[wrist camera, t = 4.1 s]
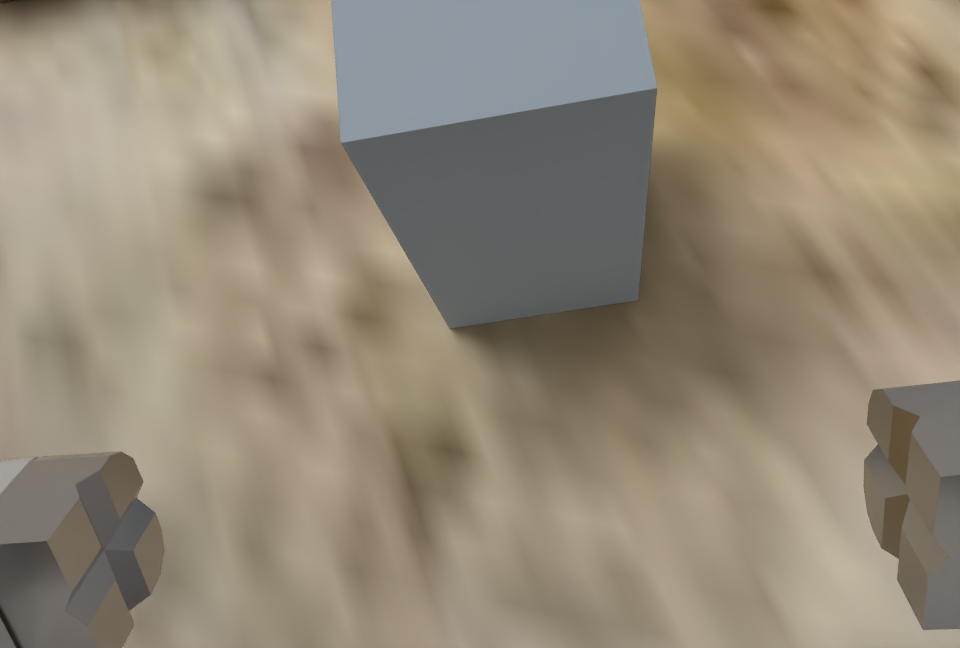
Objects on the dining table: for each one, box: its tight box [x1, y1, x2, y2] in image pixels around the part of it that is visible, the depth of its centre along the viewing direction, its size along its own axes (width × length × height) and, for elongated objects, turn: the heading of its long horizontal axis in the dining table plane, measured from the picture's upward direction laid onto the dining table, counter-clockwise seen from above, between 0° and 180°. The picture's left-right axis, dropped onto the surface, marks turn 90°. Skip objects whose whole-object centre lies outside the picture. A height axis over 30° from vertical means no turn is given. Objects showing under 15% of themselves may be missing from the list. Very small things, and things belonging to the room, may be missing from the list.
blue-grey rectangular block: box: [331, 0, 657, 329], centre depth 19 cm, size 5×5×10 cm
